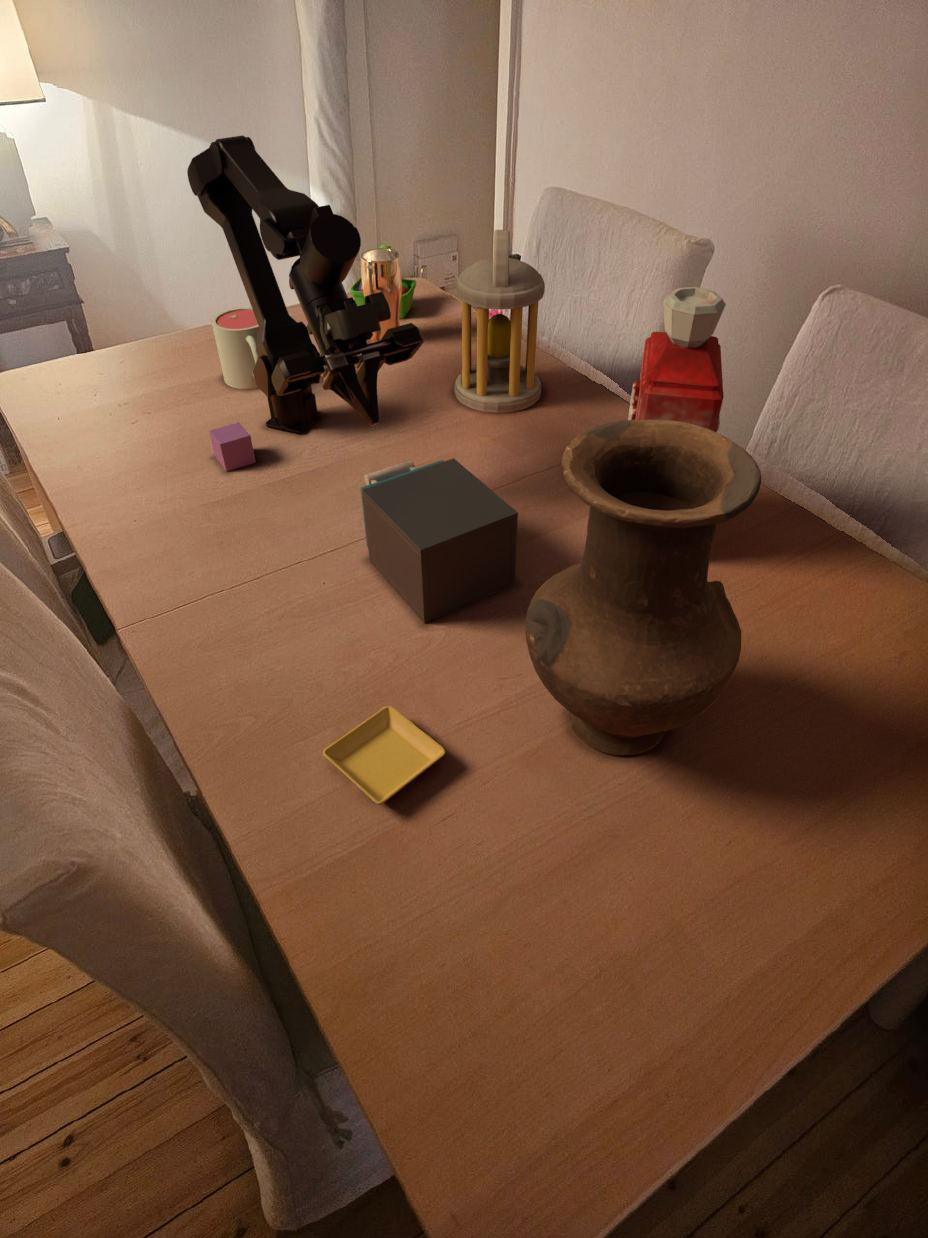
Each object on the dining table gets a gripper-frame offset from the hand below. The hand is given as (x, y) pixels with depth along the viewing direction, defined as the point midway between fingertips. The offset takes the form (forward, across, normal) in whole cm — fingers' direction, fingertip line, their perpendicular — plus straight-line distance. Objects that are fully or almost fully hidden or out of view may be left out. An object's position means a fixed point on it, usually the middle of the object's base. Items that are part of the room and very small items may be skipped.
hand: (375, 423), depth 101 cm
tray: (+16, 0, +1) cm, 16 cm away
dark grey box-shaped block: (+20, 0, -1) cm, 20 cm away
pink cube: (-7, -12, +26) cm, 30 cm away
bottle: (+25, +28, -6) cm, 38 cm away
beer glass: (-24, +26, +43) cm, 56 cm away
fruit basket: (-32, +33, +52) cm, 69 cm away
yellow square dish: (+36, -20, -16) cm, 44 cm away
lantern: (-5, +32, +24) cm, 40 cm away
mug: (-22, 0, +42) cm, 47 cm away
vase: (+41, +3, -22) cm, 47 cm away
